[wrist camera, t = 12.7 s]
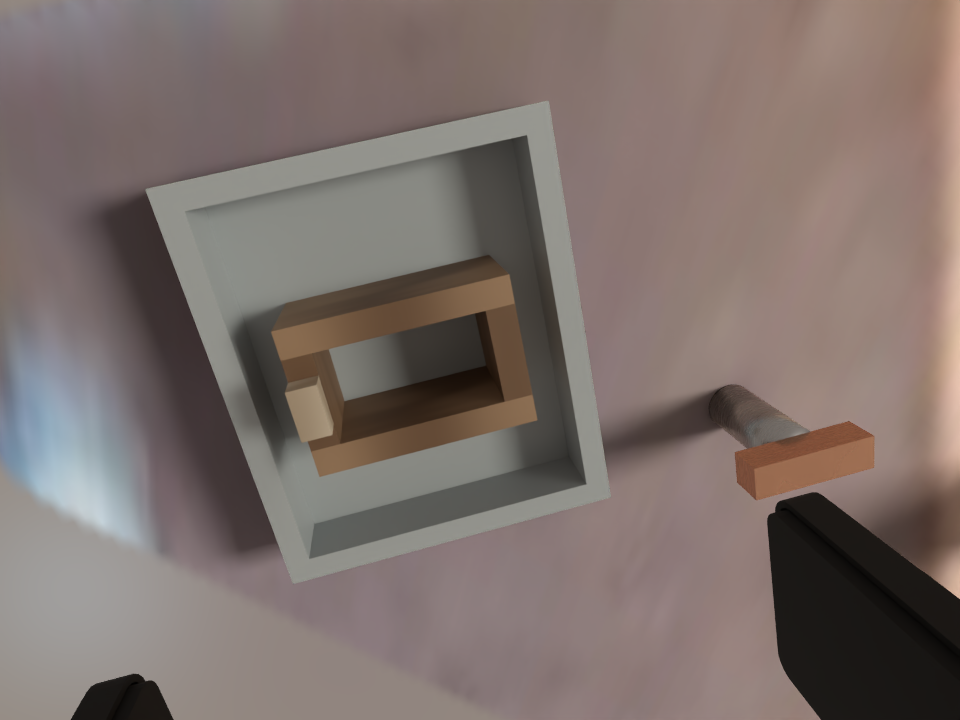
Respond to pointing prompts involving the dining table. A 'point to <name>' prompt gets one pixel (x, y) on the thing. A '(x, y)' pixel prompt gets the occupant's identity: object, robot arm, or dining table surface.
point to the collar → (413, 408)
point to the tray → (399, 356)
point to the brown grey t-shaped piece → (786, 445)
